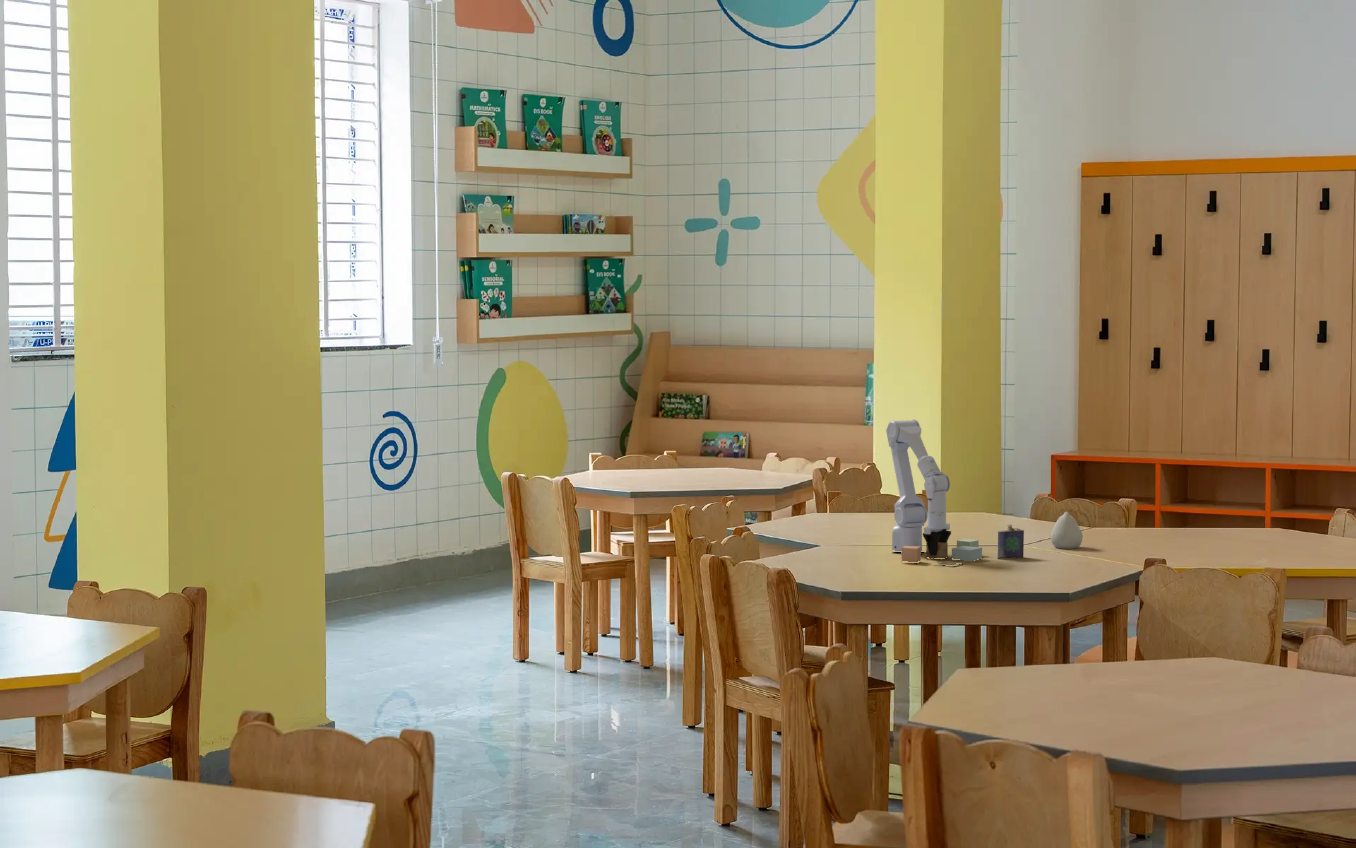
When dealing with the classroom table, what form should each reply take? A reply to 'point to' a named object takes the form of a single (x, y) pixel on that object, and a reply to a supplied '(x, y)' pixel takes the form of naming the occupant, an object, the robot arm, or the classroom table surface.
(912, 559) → the terracotta cube
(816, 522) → the classroom table surface
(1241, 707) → the classroom table surface
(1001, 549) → the flask
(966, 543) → the sage cube
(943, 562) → the grey square frame
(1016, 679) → the classroom table surface
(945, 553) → the walnut cube
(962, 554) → the base block
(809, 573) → the classroom table surface
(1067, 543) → the grey teardrop shape
